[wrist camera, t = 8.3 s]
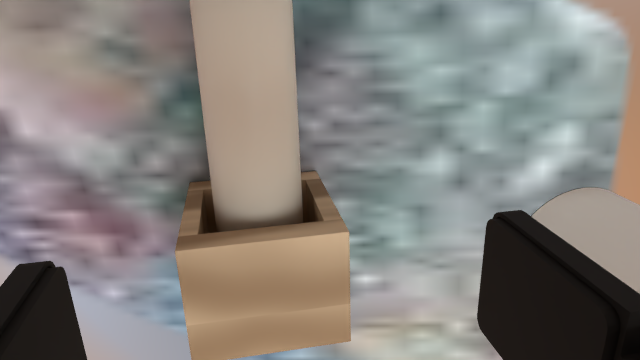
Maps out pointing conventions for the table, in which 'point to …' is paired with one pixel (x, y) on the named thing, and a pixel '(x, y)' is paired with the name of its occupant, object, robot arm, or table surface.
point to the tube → (249, 110)
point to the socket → (264, 279)
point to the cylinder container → (598, 229)
